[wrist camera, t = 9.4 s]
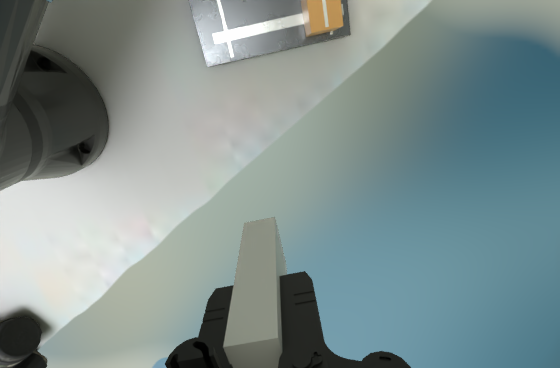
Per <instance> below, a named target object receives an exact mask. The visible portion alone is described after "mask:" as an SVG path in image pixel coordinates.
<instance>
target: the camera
mask: <svg viewBox="0 0 560 368" xmlns="http://www.w3.org/2000/svg"><path fill="white" fill-rule="evenodd" d="M41 333H42V332H41V329H40V326H39V325H38V323H37V322H35V321H34V320H33V319H30V318H27V317H18V318H14V319H9V320H6V321H4V322H2V323H0V368H46V367H47V359H46V358H45V357H44V356H43V355H41V354H40V353H39V352H38V351H37V350H35V349H36V348H37V347H38V345H39V343H40V336H41Z"/></svg>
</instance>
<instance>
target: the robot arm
mask: <svg viewBox="0 0 560 368" xmlns="http://www.w3.org/2000/svg"><path fill="white" fill-rule="evenodd" d="M48 2H50V3H52V0H0V191H1V190H3V189H5V188H7V187H9V186H11V185H13V184H15V183H18V182H20V181H26V180H37V179H49V178H58V177H63V176H67V175H70V174H73V173H75V172H77V171H79V170H80V169H82V168H84V167H86V166H88V165H89V164H91V163H92V162H93V161H94V160H95V159H96V158H97V157H98V156H99V155H100V153H101V152H102V150H103V148H104V146H105V143H106V140H107V136H108V118H107V113H106V109H105V106H104V103H103V100H102V98H101V96H100V94H99V92H98V91H97V89H96V87H95V86H94V84H93V83H92V82H91V80H90V79H89V78H88V77H87V76H86V75H85V73H84V72H83V71H82V70H81V69H80V68H78V67H77V66H76V65H75V64H74V63H72V62H71V61H70V60H68V59H67V58H65V57H63V56H62V55H60V54H58V53H56V52H54V51H52V50H49V49H47V48H44V47H40V46H36V45H33V43H34V40H35V37H36V35H37V32H38V29H39V26H40V24H41V21H42V18H43V16H44V13H45V10H46V8H47V5H48ZM165 365H166V367H167V368H411V367H410V366H409V365H408V364H407V363H406V362H405V361H404V360H403V359H402V358H401V357H399V356H397V355H395V354H393V353H389V352H383V351H379V352H374V353H370V354H369V355H368V356H366V357H365V358H363V360H362V361H356V360H350V359H346V358H342V357H340V356H338V355H336V354H334V353H333V352H332V351H331V350H330V349H329V348H328V347H327V346H326V344H325V342H324V338H323V332H322V327H321V322H320V317H319V312H318V306H317V302H316V297H315V292H314V287H313V282H312V279H311V278H310V277H309V276H308V274H307V273H306V272H305V271H304V272H299V273H293V274H288V275H287V270H286V261H285V257H284V253H283V249H282V245H281V240H280V236H279V232H278V228H277V224H276V220H275V217H272V218H267V219H262V220H257V221H252V222H247V223H244V227H243V233H242V240H241V244H240V250H239V256H238V262H237V268H236V274H235V280H234V285H233V286H227V287H222V288H217V289H215V291H214V292H213V294H212V295H211V296H210V298H209V299H208V302H207V306H206V310H205V314H204V317H203V323H202V325H201V329H200V332H199V336H198V338H196V337H195V338H192V339H189V340H186V341H185V342H183V343H182V344H180V345H179V346H177V347H176V348H175V349H174V351H173V352H172V353H171V354H170V355H169V357H168V359H167V361H166V363H165Z"/></svg>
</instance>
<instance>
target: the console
mask: <svg viewBox="0 0 560 368" xmlns="http://www.w3.org/2000/svg"><path fill="white" fill-rule="evenodd" d="M189 4H190V7H191V11H192V14H193V18H194V21H195V25H196V28H197V32H198V36H199V39H200V43H201V46H202V50H203V53H204V57H205V61H206V64H207V67H211V66H215V65H220V64H224V63H228V62H233V61H237V60H242V59H246V58H251V57H255V56H260V55H264V54H268V53H273V52H277V51H282V50H286V49H291V48H295V47H300V46H304V45H308V44H313V43H317V42H322V41H326V40H331V39H335V38H340V37H344V36H348V35H350V25H349V15H348V5H347V0H341V8H342V17H343V26H342V27H340V28H338V29H336V30H334V31H331V32H326V33H322V34H318V35H313V36H309V37H306V33H305V26H304V20H303V13H302V7H301V0H189Z"/></svg>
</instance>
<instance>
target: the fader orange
mask: <svg viewBox="0 0 560 368" xmlns="http://www.w3.org/2000/svg"><path fill="white" fill-rule="evenodd" d="M301 7H302V13H303V20H304V26H305V33H306V37H309V36H313V35H318V34H322V33H326V32H331V31H334V30H336V29H338V28H340V27H342V26H343V17H342V8H341V0H301Z"/></svg>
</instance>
